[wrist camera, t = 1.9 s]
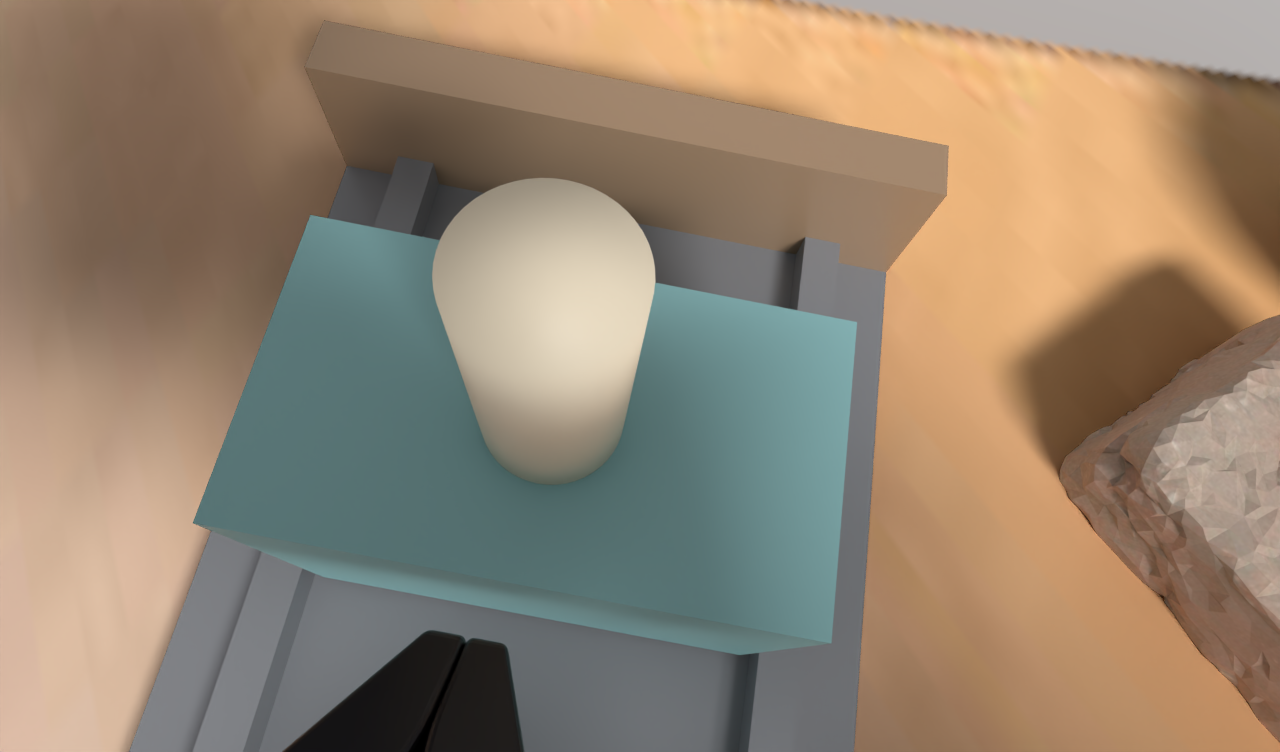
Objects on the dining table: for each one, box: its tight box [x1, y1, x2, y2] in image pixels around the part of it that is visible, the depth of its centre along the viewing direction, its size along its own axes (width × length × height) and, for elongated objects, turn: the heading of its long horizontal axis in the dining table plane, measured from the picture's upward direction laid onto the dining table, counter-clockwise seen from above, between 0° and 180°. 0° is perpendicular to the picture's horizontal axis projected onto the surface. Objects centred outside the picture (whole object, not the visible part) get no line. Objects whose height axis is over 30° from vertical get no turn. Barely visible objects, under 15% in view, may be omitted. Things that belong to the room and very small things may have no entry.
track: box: [129, 20, 949, 752], centre depth 19 cm, size 19×16×5 cm
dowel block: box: [193, 178, 857, 655], centre depth 14 cm, size 6×10×12 cm, turn 80°
